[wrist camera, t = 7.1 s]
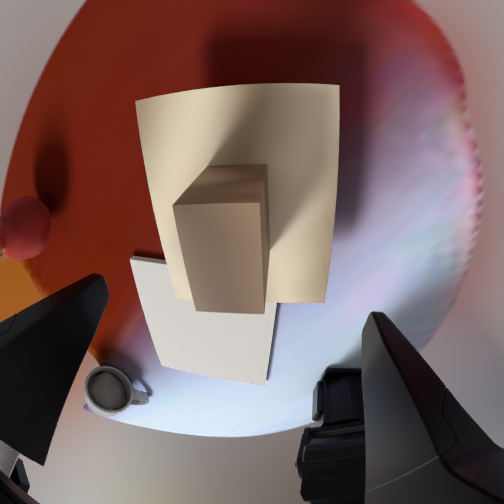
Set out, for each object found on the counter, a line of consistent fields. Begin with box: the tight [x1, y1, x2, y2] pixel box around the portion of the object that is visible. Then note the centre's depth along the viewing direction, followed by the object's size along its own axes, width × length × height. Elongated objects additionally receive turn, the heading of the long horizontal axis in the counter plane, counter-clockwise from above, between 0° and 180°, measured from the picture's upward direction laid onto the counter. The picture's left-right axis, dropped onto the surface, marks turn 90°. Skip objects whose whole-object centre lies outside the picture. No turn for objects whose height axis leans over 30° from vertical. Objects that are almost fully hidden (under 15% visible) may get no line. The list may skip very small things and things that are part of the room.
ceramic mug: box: [84, 366, 149, 416], centre depth 35 cm, size 11×8×8 cm
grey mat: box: [130, 256, 277, 385], centre depth 26 cm, size 13×16×1 cm
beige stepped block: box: [135, 83, 340, 314], centre depth 13 cm, size 10×13×6 cm
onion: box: [0, 196, 51, 260], centre depth 19 cm, size 6×6×8 cm
